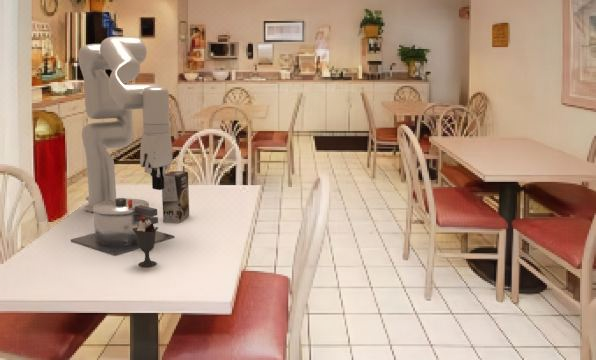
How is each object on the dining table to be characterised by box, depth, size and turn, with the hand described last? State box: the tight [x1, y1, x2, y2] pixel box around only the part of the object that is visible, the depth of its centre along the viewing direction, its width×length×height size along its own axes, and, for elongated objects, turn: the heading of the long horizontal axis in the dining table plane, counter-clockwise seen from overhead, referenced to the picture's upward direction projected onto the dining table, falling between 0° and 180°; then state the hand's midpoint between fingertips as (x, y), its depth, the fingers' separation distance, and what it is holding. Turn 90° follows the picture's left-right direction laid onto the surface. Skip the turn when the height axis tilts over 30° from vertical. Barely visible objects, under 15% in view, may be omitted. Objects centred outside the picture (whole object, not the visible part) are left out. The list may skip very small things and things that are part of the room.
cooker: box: [70, 212, 175, 256], centre depth 188 cm, size 26×22×10 cm
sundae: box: [133, 210, 159, 268], centre depth 167 cm, size 7×7×15 cm
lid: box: [92, 197, 158, 217], centre depth 186 cm, size 24×16×3 cm
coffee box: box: [161, 170, 190, 224], centre depth 212 cm, size 9×6×16 cm
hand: (158, 188), depth 187 cm, fingers closed
